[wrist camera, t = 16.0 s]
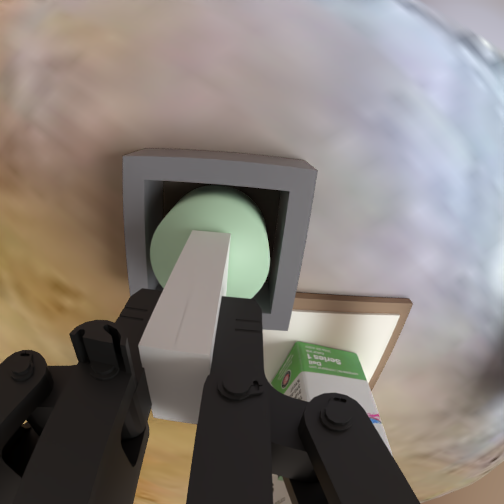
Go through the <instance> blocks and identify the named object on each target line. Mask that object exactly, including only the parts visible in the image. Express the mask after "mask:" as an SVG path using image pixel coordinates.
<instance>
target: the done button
mask: <svg viewBox="0 0 504 504" xmlns="http://www.w3.org/2000/svg"><path fill="white" fill-rule="evenodd" d="M192 230H197V231H209V232H220V233H231V238H230V251H229V264H228V278H227V292H226V296H227V297H237V298H249V299H251V298H252V297H254V295H255V294H256V293H257V292H258V291H259V290H260V289H261V287H262V286H263V284H264V282H265V280H266V278H267V275H268V272H269V267H270V252H269V244H268V236H267V228H266V223H265V219H264V217H263V214H262V212H261V210H260V209H259V207H258V206H257V205H256V203H255V202H254V201H253V200H252V199H251V198H250V197H248V196H247V195H246V194H244V193H243V192H241V191H239V190H237V189H235V188H232V187H228V186H223V185H208V186H203V187H199V188H197V189H194V190H192V191H190V192H189V193H187V194H186V195H184V196H183V197H182V198H181V199H180V200H179V201H178V202H177V203H176V205H175V206H174V207H173V208H172V209H171V211H170V212H169V213H168V214H167V215H166V217H165V218H164V219H163V220H162V221H161V223H160V224H159V226H158V227H157V229H156V231H155V233H154V235H153V238H152V241H151V247H150V259H151V265H152V269H153V271H154V274H155V276H156V278H157V280H158V282H159V283H160V284H161V286H162V287H163V288H164V287H165V285H166V283H167V281H168V279H169V277H170V275H171V272H172V270H173V268H174V266H175V264H176V262H177V260H178V258H179V256H180V254H181V252H182V250H183V248H184V246H185V244H186V242H187V240H188V238H189V236H190V234H191V232H192Z"/></svg>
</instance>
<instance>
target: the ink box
mask: <svg viewBox="0 0 504 504" xmlns="http://www.w3.org/2000/svg"><path fill="white" fill-rule="evenodd" d="M271 385H272V386H273V387H274V389H276V390H277V391H279V392H280V393H282V394H284V395H287V396H290V397H293V398H296V399H300V400H303V401H307V402H310V401H311V400H312V399H313V398H314V397H316V396H318V395H321V394H323V393H340V394H344V395H347V396H349V397H351V398H353V399H354V400H356V401H357V402H358V403H359V404H360V405H361V406H362V407H363V408H364V410H365V411H366V413H367V415H368V416H369V418H370V420H371V421H372V423H373V425H374V426H375V428H376V430H377V431H378V433H379V435H380V436H381V438H382V440H383V441H384V443H385V445H386V446H387V448H388V450H389V451H390V453H391V455H392V452H391V449H390V446H389V443H388V440H387V437H386V434H385V431H384V428H383V425H382V422H381V419H380V416H379V413H378V410H377V407H376V404H375V401H374V398H373V396H372V393H371V390H370V387H369V385H368V382H367V379H366V377H365V374H364V371H363V368H362V366H361V363H360V361H359V358H358V356H357V354H356V353H352V352H347V351H342V350H337V349H333V348H328V347H324V346H319V345H314V344H309V343H304V342H299V341H298V342H296V343H295V344H294V346H293V348H292V350H291V351H290V353H289V355H288V356H287V358H286V360H285V361H284V363H283V365H282V366H281V368H280V369H279V371H278V373H277V374H276V376H275V377H274V379H273V380H272V382H271ZM392 456H393V455H392ZM272 483H273V504H292V503H291V500H290V497H289V494H288V492H287V489H286V486H285V483H284V481H283V478H282V476H279V475H275V474H272Z"/></svg>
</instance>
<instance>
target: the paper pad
mask: <svg viewBox="0 0 504 504" xmlns="http://www.w3.org/2000/svg"><path fill="white" fill-rule="evenodd" d="M412 305H413V303H412V302H411V300H410V299H405V298H382V297H362V296H344V295H327V294H312V293H298V292H296V295H295V300H294V304H293V309H292V314H291V319H290V323H289V328H288V331H279V330H264V329H263V332H262V333H263V353H264V372H265V377H266V378H267V380H268V382H269V383H270V384H271V382H272V380H273V379H274V377H275V376H276V374H277V373H278V371H279V369H280V368H281V366H282V365H283V363H284V361H285V360H286V358H287V356H288V355H289V353H290V351H291V350H292V348H293V346H294V344H295V343H296V342H298V341H299V342H304V343H309V344H314V345H319V346H324V347H328V348H333V349H337V350H342V351H347V352H352V353H356V354H357V356H358V358H359V361H360V363H361V366H362V368H363V371H364V374H365V377H366V379H367V382H368V385H369V387H370V390H371V391H372V389H373V387H374V385H375V383H376V382H377V380H378V378H379V376H380V374H381V372H382V370H383V368H384V366H385V364H386V362H387V360H388V358H389V356H390V354H391V352H392V350H393V348H394V346H395V344H396V342H397V339H398V337H399V335H400V333H401V330H402V328H403V326H404V324H405V321H406V319H407V317H408V314H409V312H410V309H411V307H412Z"/></svg>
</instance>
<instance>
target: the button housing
mask: <svg viewBox="0 0 504 504" xmlns="http://www.w3.org/2000/svg"><path fill="white" fill-rule="evenodd" d="M317 171H318V170H316V169H315V168H314V167H313V166H311V165H310V164H309V163H308V162H306V161H305V160H297V159H290V158H282V157H273V156H264V155H255V154H244V153H233V152H220V151H205V150H187V149H159V148H145V149H142V150H139V151H136V152H133V153H130V154H127V155H124V156H123V212H124V232H125V247H126V259H127V270H128V280H129V289H130V297H131V296H132V295H133V294H135V293H136V292H137V291H139V290H140V289H142V288H145V289H153V290H161V291H163V289H164V288H163V287H162V286H161V284H160V283H159V282H158V280H157V278H156V276H155V274H154V271H153V269H152V265H151V259H150V247H151V241H152V238H153V235H154V233H155V231H156V229H157V227H158V226H159V224H160V223H161V221H162V220H163V181H178V182H194V183H208V184H221V185H233V186H244V187H254V188H264V189H273V190H281V194H280V202H279V209H278V217H277V224H276V231H275V238H274V245H273V252H272V259H271V266H270V273H269V280H268V283H266V282H264V284H263V286H262V287H261V289H260V290H259V291H258V292H257V293H256V294H255V295H254V297H252V298H251V299H255V300H256V302H257V303H258V305H259V306H260V308H261V309H262V327H263V329H264V330H279V331H288V328H289V323H290V319H291V314H292V309H293V304H294V300H295V295H296V290H297V285H298V280H299V275H300V270H301V265H302V259H303V254H304V249H305V243H306V238H307V232H308V226H309V221H310V215H311V209H312V203H313V197H314V191H315V184H316V178H317Z"/></svg>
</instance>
